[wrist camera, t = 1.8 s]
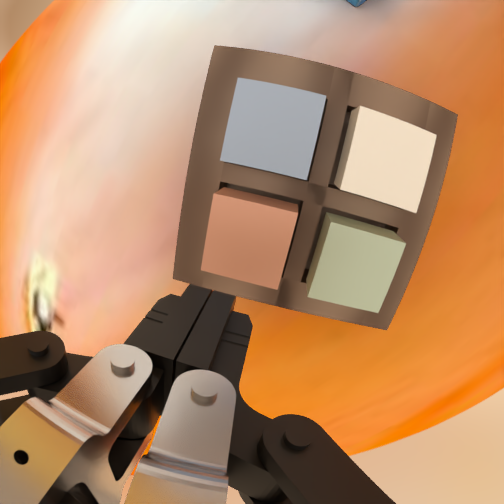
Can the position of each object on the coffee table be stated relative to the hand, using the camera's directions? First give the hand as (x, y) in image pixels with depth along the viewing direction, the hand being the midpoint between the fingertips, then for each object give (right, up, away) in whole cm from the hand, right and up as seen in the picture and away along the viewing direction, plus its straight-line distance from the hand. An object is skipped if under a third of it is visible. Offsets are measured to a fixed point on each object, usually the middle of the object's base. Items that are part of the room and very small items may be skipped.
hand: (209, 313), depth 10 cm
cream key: (+9, +8, +7) cm, 13 cm away
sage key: (+8, +2, +9) cm, 12 cm away
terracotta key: (+1, +3, +9) cm, 10 cm away
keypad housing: (+6, +7, +11) cm, 14 cm away
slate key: (+3, +9, +7) cm, 12 cm away
